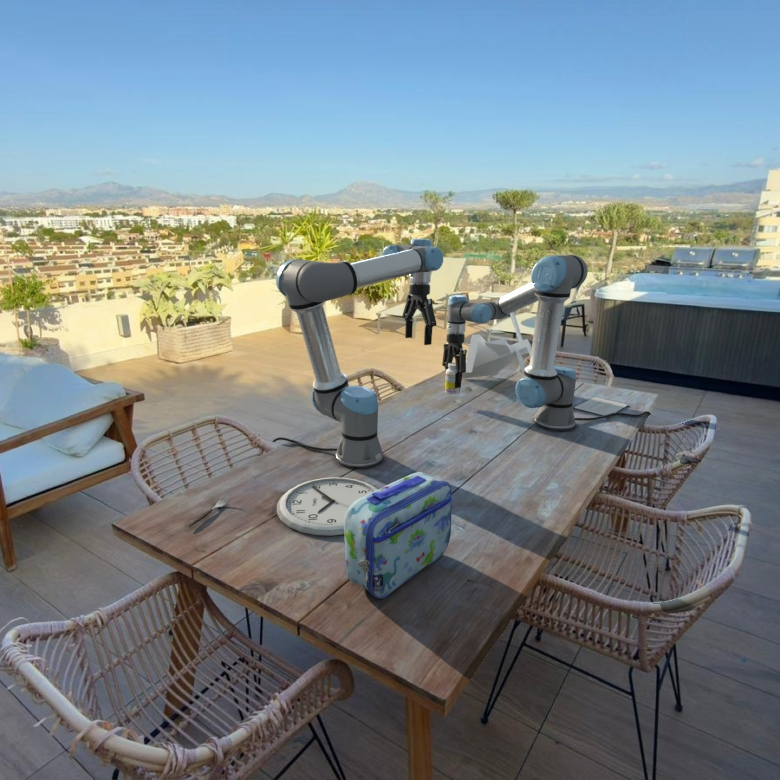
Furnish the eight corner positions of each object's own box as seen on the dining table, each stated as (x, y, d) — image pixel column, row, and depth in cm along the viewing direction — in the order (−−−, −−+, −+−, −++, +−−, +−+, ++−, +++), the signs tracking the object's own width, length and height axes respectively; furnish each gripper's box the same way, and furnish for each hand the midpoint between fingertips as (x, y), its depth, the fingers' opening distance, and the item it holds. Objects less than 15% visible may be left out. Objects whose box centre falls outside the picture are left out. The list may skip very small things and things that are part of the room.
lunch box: (372, 611, 103) (373, 518, 97) (338, 585, 111) (336, 497, 104) (455, 557, 121) (460, 475, 115) (420, 537, 128) (424, 459, 122)
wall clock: (392, 527, 129) (268, 531, 127) (391, 533, 130) (269, 537, 127) (383, 473, 158) (282, 475, 155) (383, 478, 158) (282, 480, 156)
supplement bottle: (453, 389, 231) (455, 361, 227) (463, 393, 226) (464, 364, 222) (441, 391, 228) (442, 363, 224) (450, 395, 222) (452, 366, 218)
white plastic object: (478, 420, 264) (457, 397, 239) (460, 347, 286) (438, 319, 261) (549, 396, 251) (535, 369, 227) (524, 322, 273) (509, 290, 249)
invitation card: (608, 416, 214) (573, 407, 224) (608, 416, 214) (573, 408, 224) (628, 404, 229) (594, 396, 238) (628, 405, 229) (594, 397, 238)
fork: (184, 527, 131) (183, 520, 130) (224, 498, 145) (223, 491, 145) (193, 529, 130) (192, 522, 129) (232, 499, 144) (231, 493, 144)
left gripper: (394, 280, 197) (393, 335, 204) (429, 287, 176) (427, 348, 183) (411, 279, 201) (409, 334, 207) (448, 286, 180) (445, 346, 186)
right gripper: (435, 329, 225) (433, 380, 232) (462, 337, 209) (459, 392, 216) (449, 328, 229) (447, 378, 236) (477, 336, 212) (473, 390, 219)
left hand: (417, 341), depth 195 cm, fingers open, 13 cm apart
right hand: (452, 385), depth 226 cm, fingers closed on supplement bottle, 7 cm apart
